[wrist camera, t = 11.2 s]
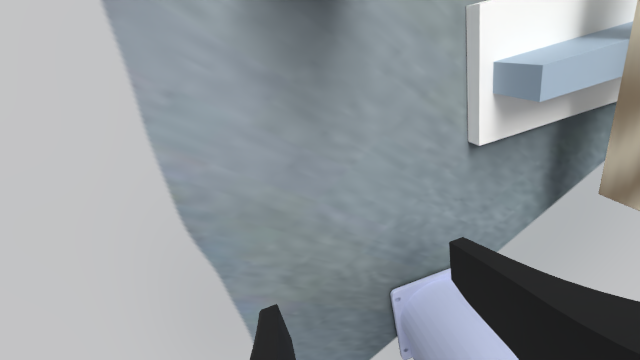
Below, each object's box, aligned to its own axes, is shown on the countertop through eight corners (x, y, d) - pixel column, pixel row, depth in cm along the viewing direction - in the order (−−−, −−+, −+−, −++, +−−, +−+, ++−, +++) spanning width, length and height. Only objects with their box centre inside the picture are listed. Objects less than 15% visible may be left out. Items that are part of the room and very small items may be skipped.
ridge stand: (645, 84, 25) (729, 92, 21) (468, 141, 23) (520, 163, 19) (677, -50, 21) (789, -74, 17) (466, 6, 19) (531, -6, 15)
